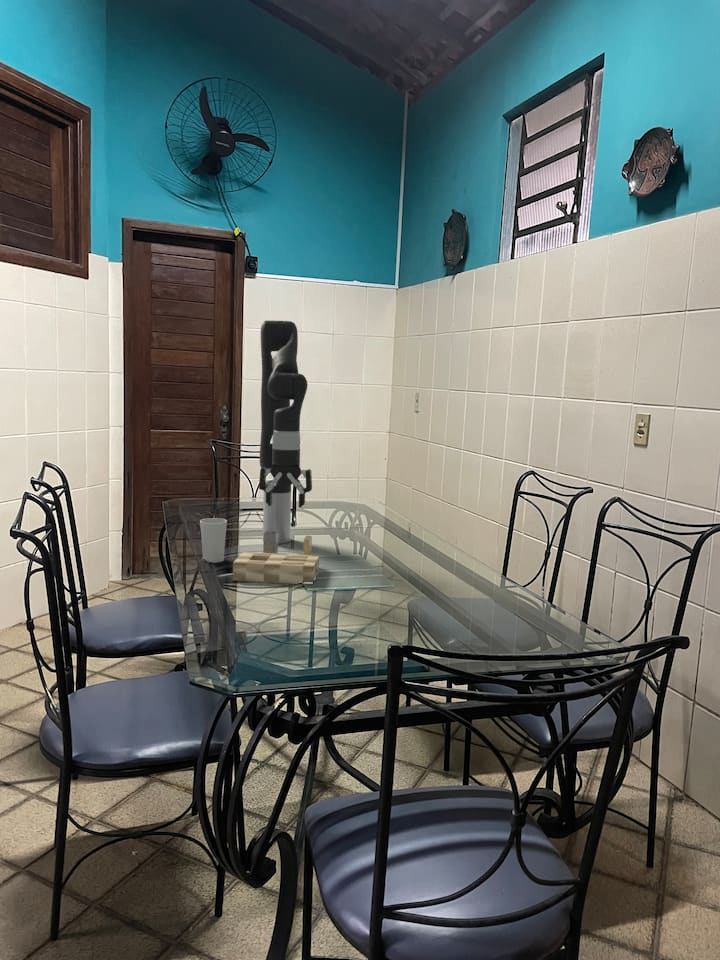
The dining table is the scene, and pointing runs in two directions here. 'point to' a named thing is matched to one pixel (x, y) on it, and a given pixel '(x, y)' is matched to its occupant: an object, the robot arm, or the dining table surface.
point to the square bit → (270, 542)
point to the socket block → (275, 567)
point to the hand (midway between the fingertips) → (285, 506)
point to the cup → (213, 539)
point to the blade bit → (307, 545)
